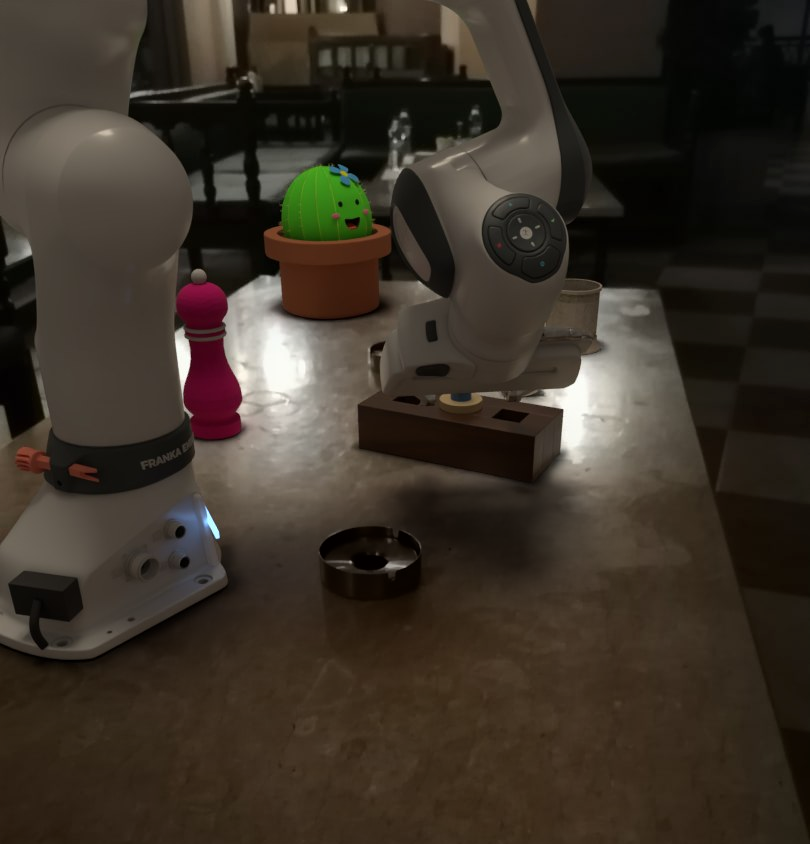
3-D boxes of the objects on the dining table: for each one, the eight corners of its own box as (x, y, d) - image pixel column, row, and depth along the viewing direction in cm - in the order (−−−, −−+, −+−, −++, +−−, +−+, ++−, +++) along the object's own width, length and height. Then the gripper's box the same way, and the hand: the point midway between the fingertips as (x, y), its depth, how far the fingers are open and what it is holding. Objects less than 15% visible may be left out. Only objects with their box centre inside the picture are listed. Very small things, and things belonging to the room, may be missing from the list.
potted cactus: (248, 306, 168) (235, 161, 156) (343, 287, 181) (337, 152, 169) (316, 331, 154) (307, 173, 142) (414, 308, 166) (414, 161, 154)
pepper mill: (233, 443, 111) (215, 277, 101) (178, 439, 112) (155, 274, 102) (253, 422, 117) (238, 263, 107) (201, 418, 118) (181, 261, 109)
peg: (470, 449, 105) (473, 356, 99) (431, 441, 107) (432, 350, 101) (487, 434, 109) (491, 344, 103) (449, 427, 111) (451, 339, 105)
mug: (613, 346, 145) (621, 269, 139) (574, 359, 139) (581, 279, 133) (543, 328, 154) (548, 255, 148) (504, 339, 148) (507, 264, 142)
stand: (532, 482, 100) (535, 436, 98) (358, 447, 109) (357, 404, 107) (560, 452, 107) (563, 408, 105) (395, 422, 117) (395, 380, 114)
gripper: (593, 300, 87) (558, 367, 101) (382, 308, 85) (375, 375, 98) (603, 359, 86) (566, 419, 99) (388, 369, 84) (380, 429, 97)
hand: (469, 397), depth 99 cm, fingers open, 8 cm apart
